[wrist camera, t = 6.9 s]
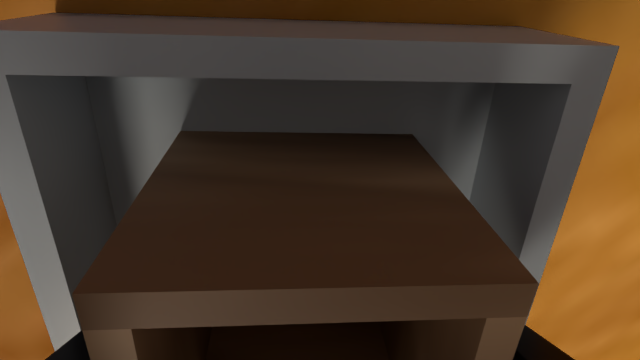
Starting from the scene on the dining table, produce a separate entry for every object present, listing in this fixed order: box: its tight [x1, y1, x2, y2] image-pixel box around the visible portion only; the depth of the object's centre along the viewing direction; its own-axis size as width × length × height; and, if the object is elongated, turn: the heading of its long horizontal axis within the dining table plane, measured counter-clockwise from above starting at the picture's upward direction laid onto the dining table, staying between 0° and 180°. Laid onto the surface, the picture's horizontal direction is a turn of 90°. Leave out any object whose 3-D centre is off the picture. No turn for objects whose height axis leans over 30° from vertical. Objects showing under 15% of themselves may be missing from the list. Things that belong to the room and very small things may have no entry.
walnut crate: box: [72, 131, 539, 360], centre depth 9 cm, size 6×6×6 cm
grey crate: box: [0, 13, 619, 351], centre depth 11 cm, size 11×11×4 cm
